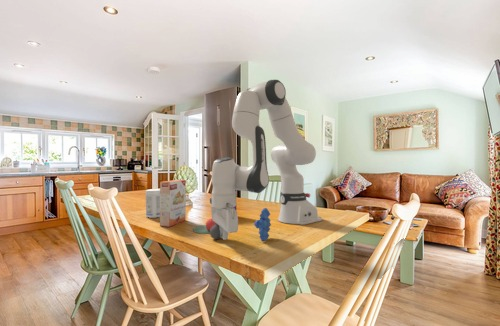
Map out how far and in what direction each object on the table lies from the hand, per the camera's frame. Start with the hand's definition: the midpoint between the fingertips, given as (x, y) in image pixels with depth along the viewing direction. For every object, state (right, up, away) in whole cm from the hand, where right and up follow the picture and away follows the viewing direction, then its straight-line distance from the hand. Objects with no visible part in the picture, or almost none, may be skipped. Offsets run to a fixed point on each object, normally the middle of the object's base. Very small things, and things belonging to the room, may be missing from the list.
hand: (224, 238), depth 93 cm
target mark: (-9, -1, +19) cm, 21 cm away
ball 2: (-3, +1, +5) cm, 6 cm away
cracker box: (-28, -2, +29) cm, 40 cm away
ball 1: (-7, +1, +15) cm, 16 cm away
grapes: (+14, -2, +4) cm, 15 cm away
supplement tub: (-42, -2, +44) cm, 61 cm away
